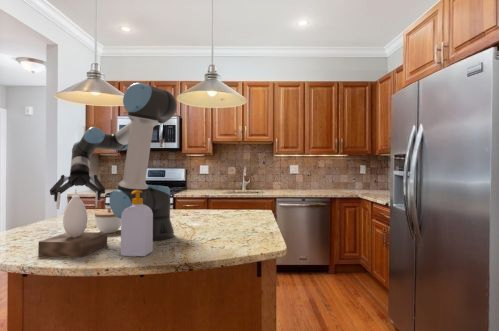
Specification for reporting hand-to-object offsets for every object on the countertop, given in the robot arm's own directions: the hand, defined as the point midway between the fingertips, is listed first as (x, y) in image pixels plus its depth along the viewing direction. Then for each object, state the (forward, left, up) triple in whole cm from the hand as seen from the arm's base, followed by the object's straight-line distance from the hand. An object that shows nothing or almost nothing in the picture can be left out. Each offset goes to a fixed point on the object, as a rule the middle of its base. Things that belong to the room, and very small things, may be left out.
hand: (77, 206), depth 121 cm
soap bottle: (-30, +12, -15) cm, 36 cm away
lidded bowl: (0, -24, -15) cm, 29 cm away
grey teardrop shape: (-5, +9, -10) cm, 15 cm away
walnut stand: (-5, +9, -15) cm, 18 cm away
